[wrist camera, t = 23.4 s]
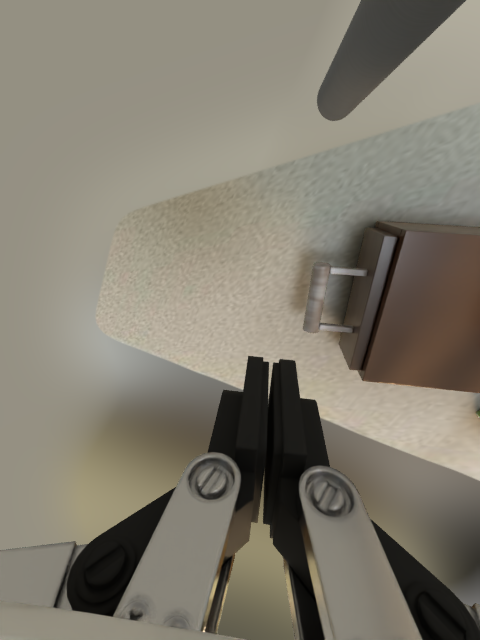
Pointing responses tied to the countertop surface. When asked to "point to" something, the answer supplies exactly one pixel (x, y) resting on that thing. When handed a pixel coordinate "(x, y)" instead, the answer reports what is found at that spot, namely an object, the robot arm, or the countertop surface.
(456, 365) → the cabinet
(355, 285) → the drawer
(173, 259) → the countertop surface
